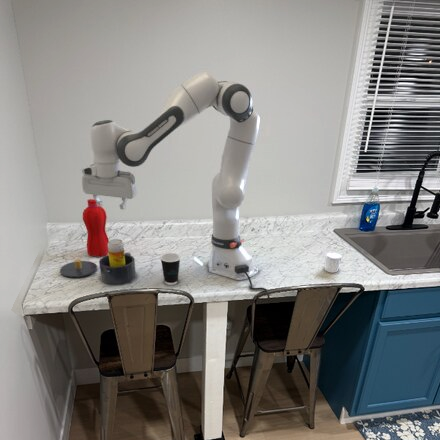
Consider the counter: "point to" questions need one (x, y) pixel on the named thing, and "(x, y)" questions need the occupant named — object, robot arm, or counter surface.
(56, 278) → the counter surface
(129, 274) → the pot
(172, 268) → the dixie cup
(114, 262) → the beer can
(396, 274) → the counter surface
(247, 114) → the robot arm
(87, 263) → the pot lid
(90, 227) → the water bottle
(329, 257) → the white cylinder
